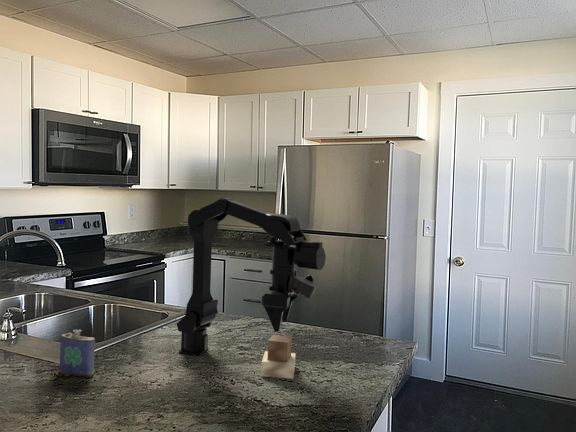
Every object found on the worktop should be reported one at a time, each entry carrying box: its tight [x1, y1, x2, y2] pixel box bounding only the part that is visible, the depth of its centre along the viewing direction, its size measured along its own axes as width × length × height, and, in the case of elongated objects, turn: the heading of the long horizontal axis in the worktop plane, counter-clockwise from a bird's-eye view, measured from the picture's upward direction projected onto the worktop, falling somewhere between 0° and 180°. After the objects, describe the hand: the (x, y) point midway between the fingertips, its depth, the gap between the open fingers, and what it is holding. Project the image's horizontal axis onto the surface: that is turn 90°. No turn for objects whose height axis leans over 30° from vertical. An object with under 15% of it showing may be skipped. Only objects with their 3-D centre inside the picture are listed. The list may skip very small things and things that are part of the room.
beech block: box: [260, 350, 297, 379], centre depth 125 cm, size 8×8×4 cm
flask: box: [58, 329, 96, 378], centre depth 117 cm, size 9×3×11 cm, turn 74°
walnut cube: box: [267, 334, 293, 362], centre depth 124 cm, size 5×5×5 cm
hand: (280, 326), depth 124 cm, fingers open, 9 cm apart
